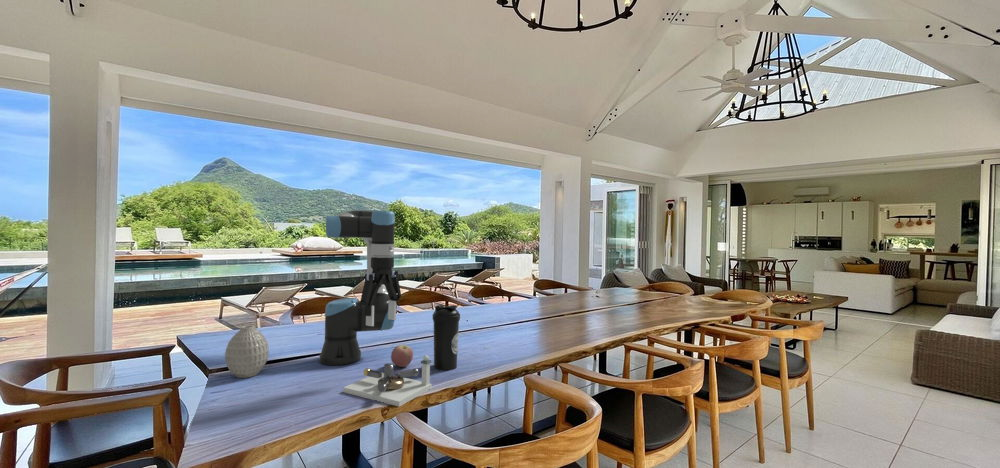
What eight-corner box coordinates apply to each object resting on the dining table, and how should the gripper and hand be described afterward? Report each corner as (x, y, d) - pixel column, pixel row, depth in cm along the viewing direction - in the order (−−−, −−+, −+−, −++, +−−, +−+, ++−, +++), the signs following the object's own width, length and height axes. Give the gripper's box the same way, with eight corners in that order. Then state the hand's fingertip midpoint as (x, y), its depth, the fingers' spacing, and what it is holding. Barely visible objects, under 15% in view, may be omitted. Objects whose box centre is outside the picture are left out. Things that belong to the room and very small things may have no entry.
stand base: (343, 392, 131) (344, 357, 131) (379, 376, 145) (379, 345, 145) (399, 406, 121) (399, 369, 121) (431, 388, 136) (432, 354, 135)
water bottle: (454, 372, 151) (455, 308, 151) (427, 369, 153) (428, 307, 153) (462, 363, 161) (463, 304, 161) (437, 361, 163) (438, 302, 163)
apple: (393, 371, 151) (393, 349, 151) (388, 365, 158) (389, 343, 158) (415, 368, 155) (415, 346, 154) (409, 362, 161) (409, 341, 161)
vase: (276, 371, 148) (277, 324, 148) (244, 383, 136) (244, 332, 136) (249, 366, 152) (250, 321, 152) (215, 378, 140) (216, 328, 140)
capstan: (343, 388, 130) (343, 367, 130) (383, 371, 146) (383, 352, 146) (382, 398, 123) (383, 376, 123) (420, 379, 139) (420, 360, 139)
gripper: (366, 258, 129) (365, 330, 129) (412, 255, 149) (411, 317, 150) (348, 257, 132) (347, 327, 133) (396, 254, 153) (394, 315, 153)
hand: (381, 322), depth 141 cm, fingers open, 10 cm apart
